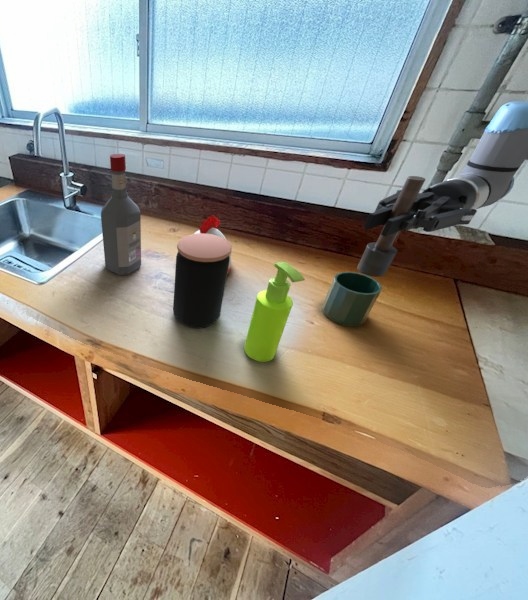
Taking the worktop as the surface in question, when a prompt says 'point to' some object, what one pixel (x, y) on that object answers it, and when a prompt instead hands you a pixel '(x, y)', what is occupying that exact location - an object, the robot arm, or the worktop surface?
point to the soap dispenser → (271, 314)
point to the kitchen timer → (212, 230)
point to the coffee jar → (200, 278)
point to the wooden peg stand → (382, 251)
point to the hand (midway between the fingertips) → (377, 224)
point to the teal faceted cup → (350, 298)
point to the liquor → (121, 224)
